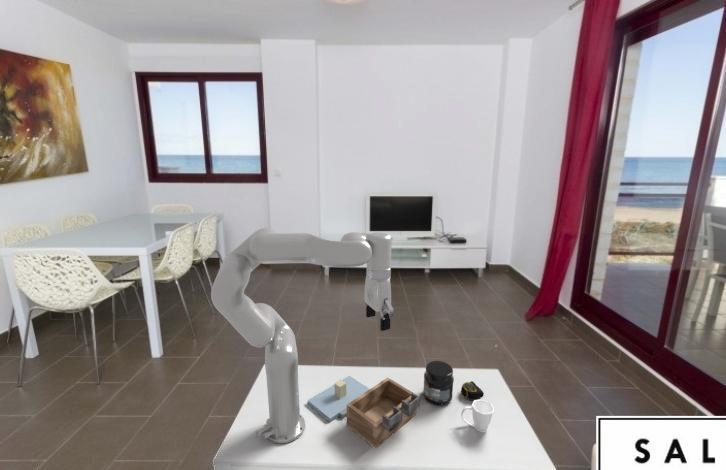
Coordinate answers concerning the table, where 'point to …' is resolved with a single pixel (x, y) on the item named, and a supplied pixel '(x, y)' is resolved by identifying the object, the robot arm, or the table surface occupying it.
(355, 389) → the door
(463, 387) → the tape measure
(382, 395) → the cabinet
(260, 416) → the table surface
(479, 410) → the cup
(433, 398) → the supplement container
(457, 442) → the table surface
